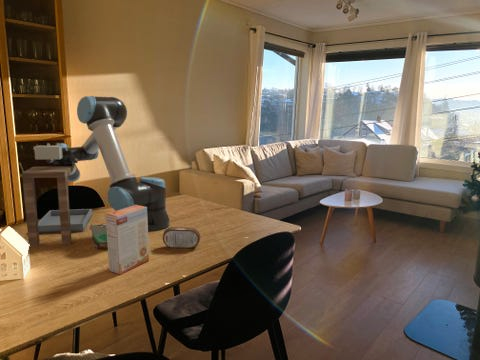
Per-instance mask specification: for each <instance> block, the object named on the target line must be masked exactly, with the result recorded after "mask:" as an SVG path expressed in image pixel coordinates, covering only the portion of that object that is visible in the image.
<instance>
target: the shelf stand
mask: <svg viewBox="0 0 480 360" xmlns="http://www.w3.org/2000/svg"><path fill="white" fill-rule="evenodd" d="M72 171H73V166H56V165H55V166H54V165H53V166H51V165H50V166H49V165H48V166H44V165H43V166H32V167H30V168H28V169H26V170H24V171H22V172H21V179H22V187H23V196H24V197H23V199H24V206H25V207H24V208H25V218H26V219H25V220H26V229H27V230H26V231H27V236H28V237H27V238H28V239H27V240H28V245H29V244H30V246H31V247H30V248H36V247H37V248H38V247H39V245H40V244H41V242H40V233H39V229H38V222H39V221H38V220H39V219H38V218H39V217H38V211H37V210H38V209H37V208H38V207H37V200H36V199H37V197H36V188H35V187H36V186H35V179H40V178H41V179H44V178H45V179H47V178H48V179H49V178H54V179H55V178H56V184H57V196H58V197H57V198H58V210H59V211H60V224H61V232H60V235H61V236H60V237H61V245H62V246H70V245H72V242H73V241H72V238H73V237H72V232H71V224H70V210H71V209H70V198H69V185H68V184H69V183H68V182H69V181H68V180H67V175H68V174H70V173H71V172H72Z"/></svg>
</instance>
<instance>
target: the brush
mask: <svg viewBox="0 0 480 360" xmlns="http://www.w3.org/2000/svg"><path fill="white" fill-rule="evenodd" d="M33 150H34V159H35V160H47V159H53V160H54V159H61V158H63V155H62V146H55V145H51V146H47V145H35V146H34V147H33Z"/></svg>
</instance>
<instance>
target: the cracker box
mask: <svg viewBox="0 0 480 360" xmlns="http://www.w3.org/2000/svg"><path fill="white" fill-rule="evenodd" d="M105 223H106V230H107V245H108V250H107V257H108V258H107V259H108V271H109V272H111V273H114V274H117V275H119V276H121V275H123V274H125V273H126V272H128V271H130V270H132V269H135V268H136V267H138V266H141V265H143V264H145V263H146V262H149V260H150V253H149V251H150V250H149V230H148V221H147V207H144V206H140V205H134V206H131V207H127V208H124V209H121V210H118V211H116V210H114V211H111V212H108V213H105Z"/></svg>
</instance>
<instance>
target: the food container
mask: <svg viewBox="0 0 480 360" xmlns="http://www.w3.org/2000/svg"><path fill="white" fill-rule="evenodd" d="M89 230H90V231H91V234H92V240H93V246H94V248H95V249H96V250H99V251H108V245H107V230H106V222H105V223H102V224H97V225H93V223H90V225H89Z"/></svg>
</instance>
